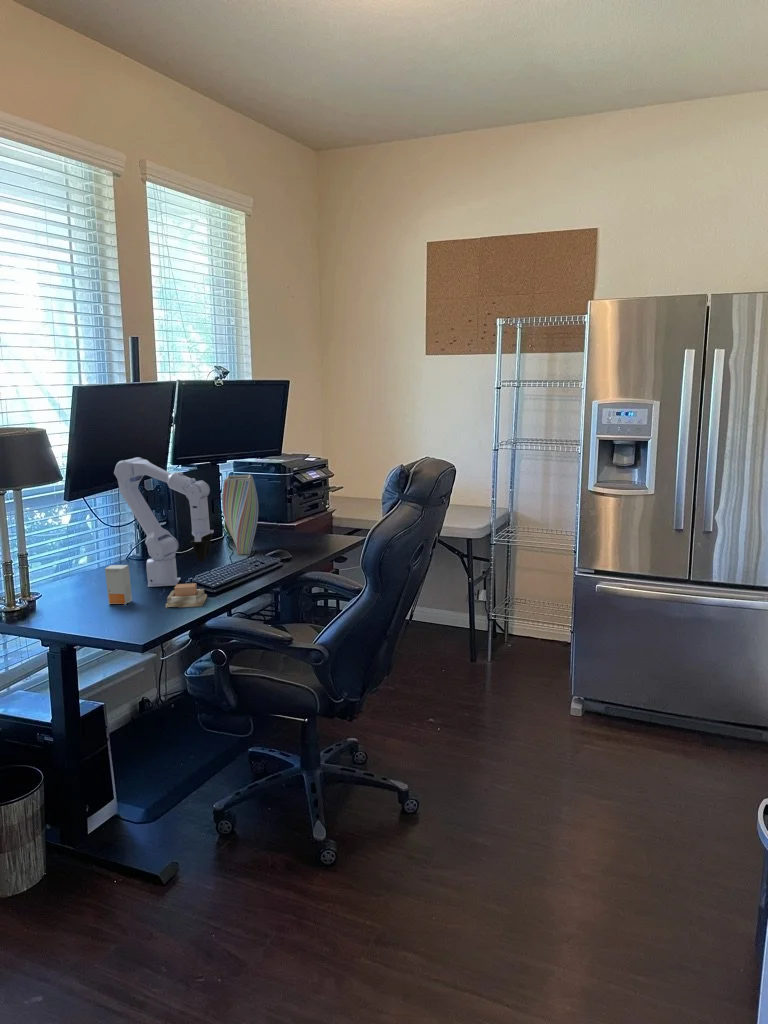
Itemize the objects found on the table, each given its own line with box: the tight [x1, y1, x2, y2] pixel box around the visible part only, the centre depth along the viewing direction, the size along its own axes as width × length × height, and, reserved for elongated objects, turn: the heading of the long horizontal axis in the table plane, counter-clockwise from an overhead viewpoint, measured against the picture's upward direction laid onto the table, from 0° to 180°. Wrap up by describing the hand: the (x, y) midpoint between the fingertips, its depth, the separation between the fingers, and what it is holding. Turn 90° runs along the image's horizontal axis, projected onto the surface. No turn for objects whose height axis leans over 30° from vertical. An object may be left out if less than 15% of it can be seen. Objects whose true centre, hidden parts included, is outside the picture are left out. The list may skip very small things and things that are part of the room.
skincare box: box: [104, 564, 133, 605], centre depth 233 cm, size 6×4×12 cm
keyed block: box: [173, 582, 198, 596], centre depth 232 cm, size 4×6×4 cm, turn 95°
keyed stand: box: [165, 588, 208, 609], centre depth 232 cm, size 11×9×3 cm
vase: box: [221, 474, 259, 555], centre depth 289 cm, size 14×14×30 cm
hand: (203, 558), depth 248 cm, fingers open, 7 cm apart
